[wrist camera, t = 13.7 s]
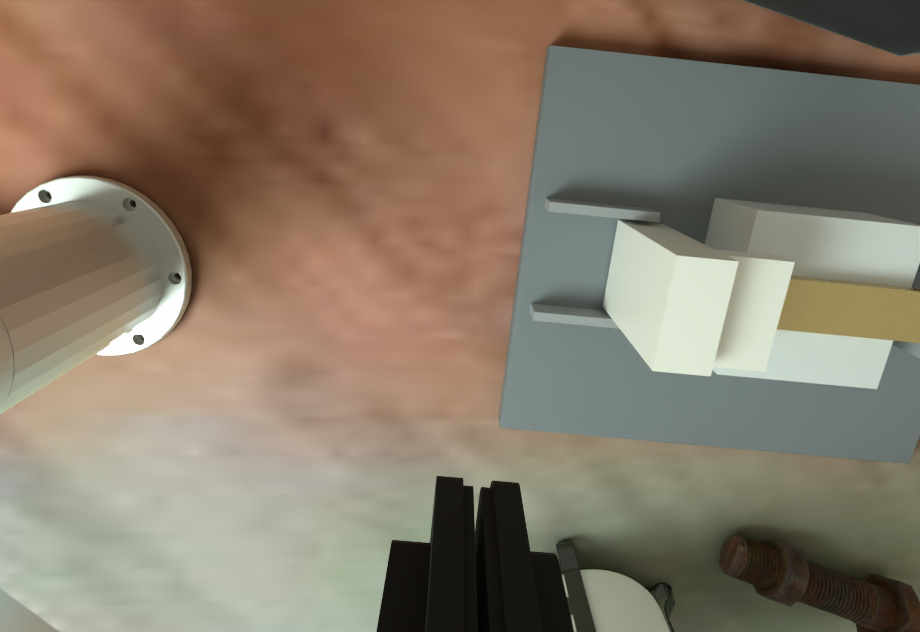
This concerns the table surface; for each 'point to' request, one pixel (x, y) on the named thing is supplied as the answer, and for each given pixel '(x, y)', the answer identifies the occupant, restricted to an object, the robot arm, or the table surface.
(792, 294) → the wooden building block
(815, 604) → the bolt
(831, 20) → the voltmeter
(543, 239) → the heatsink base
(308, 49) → the table surface
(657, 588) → the coffee press
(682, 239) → the block
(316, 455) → the table surface
